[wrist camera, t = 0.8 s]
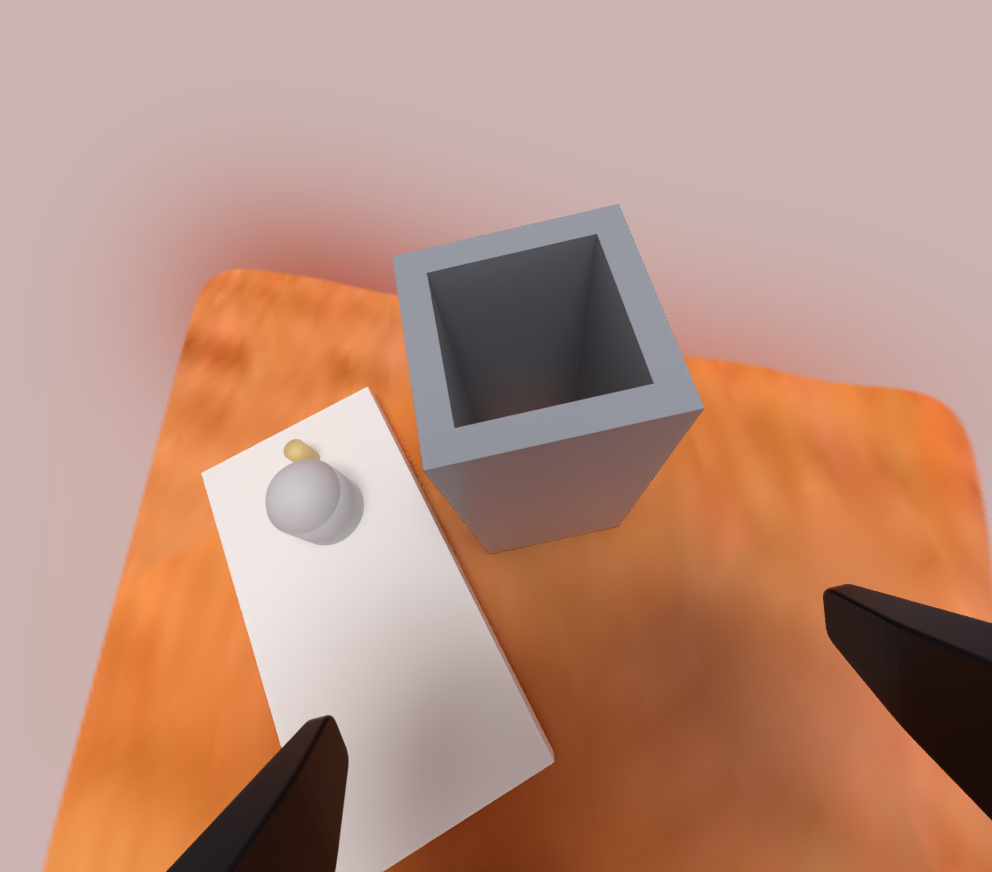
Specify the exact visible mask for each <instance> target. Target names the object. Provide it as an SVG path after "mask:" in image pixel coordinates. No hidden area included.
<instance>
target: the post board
mask: <svg viewBox="0 0 992 872" xmlns="http://www.w3.org/2000/svg"><path fill="white" fill-rule="evenodd" d="M201 474H202V477H203V480H204V484H205V487H206V491H207V494H208V498H209V501H210V504H211V508H212V511H213V515H214V518H215V522H216V525H217V528H218V532H219V535H220V539H221V542H222V546H223V549H224V552H225V556H226V559H227V563H228V566H229V570H230V573H231V576H232V580H233V583H234V587H235V590H236V593H237V597H238V600H239V604H240V607H241V611H242V614H243V617H244V621H245V624H246V628H247V631H248V635H249V638H250V641H251V645H252V648H253V652H254V655H255V659H256V662H257V665H258V669H259V672H260V676H261V679H262V683H263V686H264V689H265V693H266V696H267V700H268V703H269V706H270V710H271V713H272V717H273V720H274V724H275V727H276V730H277V734H278V737H279V741H280V744H281V748H282V747H283V746H284V745H285V744H286V743H287V742H288V741H289V740H290V739H291V738H292V737H293V735H294V734H295V733H296V732H297V731H298V730H299V729H300V728H301V727H302V726H303V725H304V724H305V723H306V722H307V721H308V720H310V719H313V718H317V717H321V716H325V715H331V716H333V717H334V719H335V720H336V723H337V725H338V728H339V730H340V733H341V735H342V738H343V740H344V743H345V745H346V748H347V751H348V757H349V766H348V775H347V783H346V792H345V800H344V808H343V817H342V825H341V833H340V842H339V850H338V857H337V864H336V870H335V872H383V871H385V870H386V869H388V868H389V867H391V866H393V865H394V864H396V863H397V862H399V861H400V860H402V859H404V858H405V857H407V856H408V855H410V854H411V853H413V852H415V851H416V850H418V849H419V848H421V847H422V846H424V845H425V844H427V843H429V842H430V841H432V840H433V839H435V838H436V837H438V836H440V835H441V834H443V833H444V832H446V831H447V830H449V829H451V828H452V827H454V826H455V825H457V824H458V823H460V822H462V821H463V820H465V819H466V818H468V817H469V816H471V815H472V814H474V813H476V812H477V811H479V810H480V809H482V808H483V807H485V806H487V805H488V804H490V803H491V802H493V801H494V800H496V799H498V798H499V797H501V796H502V795H504V794H505V793H507V792H508V791H510V790H512V789H513V788H515V787H516V786H518V785H519V784H521V783H523V782H524V781H526V780H527V779H529V778H530V777H532V776H534V775H535V774H537V773H538V772H540V771H541V770H543V769H544V768H546V767H548V766H549V765H551V764H552V763H554V751H553V749H552V747H551V745H550V743H549V741H548V739H547V737H546V735H545V734H544V732H543V730H542V728H541V726H540V724H539V722H538V720H537V718H536V716H535V714H534V712H533V710H532V708H531V706H530V704H529V702H528V700H527V698H526V696H525V694H524V692H523V690H522V688H521V686H520V684H519V682H518V680H517V678H516V676H515V674H514V672H513V670H512V668H511V666H510V664H509V662H508V660H507V658H506V656H505V654H504V652H503V650H502V648H501V646H500V644H499V642H498V640H497V638H496V636H495V634H494V632H493V630H492V628H491V626H490V624H489V622H488V620H487V618H486V616H485V614H484V612H483V610H482V608H481V606H480V604H479V602H478V600H477V598H476V596H475V594H474V592H473V590H472V588H471V586H470V584H469V582H468V580H467V578H466V576H465V574H464V572H463V570H462V568H461V566H460V564H459V562H458V560H457V558H456V556H455V554H454V552H453V550H452V548H451V546H450V544H449V542H448V540H447V538H446V536H445V534H444V532H443V530H442V528H441V526H440V524H439V522H438V520H437V518H436V516H435V514H434V512H433V510H432V508H431V506H430V504H429V502H428V500H427V498H426V496H425V494H424V492H423V490H422V488H421V486H420V484H419V482H418V480H417V478H416V476H415V474H414V472H413V470H412V468H411V466H410V464H409V462H408V460H407V458H406V456H405V454H404V452H403V450H402V448H401V446H400V444H399V442H398V440H397V438H396V436H395V434H394V432H393V430H392V428H391V426H390V424H389V422H388V420H387V418H386V416H385V414H384V412H383V410H382V408H381V406H380V404H379V402H378V400H377V399H376V397H375V396H374V395H373V393H372V392H371V391H370V389H369V388H368V387H366V388H364V389H362V390H360V391H358V392H356V393H355V394H353V395H351V396H349V397H347V398H345V399H343V400H341V401H339V402H337V403H335V404H333V405H331V406H330V407H328V408H326V409H324V410H322V411H320V412H318V413H316V414H314V415H312V416H310V417H308V418H306V419H305V420H303V421H301V422H299V423H297V424H295V425H293V426H291V427H289V428H287V429H285V430H283V431H281V432H279V433H278V434H276V435H274V436H272V437H270V438H268V439H266V440H264V441H262V442H260V443H258V444H256V445H254V446H253V447H251V448H249V449H247V450H245V451H243V452H241V453H239V454H237V455H235V456H233V457H231V458H229V459H228V460H226V461H224V462H222V463H220V464H218V465H216V466H214V467H212V468H210V469H208V470H206V471H204V472H203V473H201Z"/></svg>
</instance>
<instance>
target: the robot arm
mask: <svg viewBox="0 0 992 872" xmlns="http://www.w3.org/2000/svg"><path fill="white" fill-rule="evenodd" d="M823 602H824V613H825V623H826V630H827V633H828V636H829V638H830V640H831V641H832V643H833V644H834V645H835V647H836V648H837V649H838V650H839V651H840V653H841V654H842V655H843V656H844V658H845V659H846V660H847V661H848V662H849V664H850V665H851V666H852V667H853V669H854V670H855V671H856V672H857V673H858V675H859V676H860V677H861V678H862V680H863V681H864V682H865V683H866V684H867V686H868V687H869V688H870V689H871V691H872V692H873V693H874V694H875V695H876V697H877V698H878V699H879V700H880V702H881V703H882V704H883V705H884V706H885V708H886V709H887V710H888V711H889V712H890V714H891V715H892V716H893V717H894V718H895V719H896V721H897V722H898V723H899V724H900V725H901V726H902V727H903V729H904V730H905V731H906V732H907V733H908V734H909V735H910V736H911V737H912V738H913V739H914V740H915V741H916V742H917V743H918V744H919V746H920V747H921V748H922V749H923V750H924V751H925V752H926V753H927V754H928V755H929V756H930V757H931V758H932V759H933V760H934V761H935V762H936V763H937V764H938V765H939V766H940V767H941V768H942V769H943V770H944V771H945V772H946V773H947V774H948V776H949V777H950V778H951V779H952V780H953V781H954V782H955V783H956V784H957V785H958V786H959V787H960V788H961V789H962V790H963V791H964V792H965V793H966V794H967V795H968V796H969V797H970V798H971V799H972V800H973V801H974V802H975V803H976V804H977V806H978V807H979V808H980V809H981V810H982V811H983V812H984V813H985V814H986V815H987V816H988V817H989V818H990V819H991V820H992V623H989V622H986V621H982V620H978V619H975V618H971V617H968V616H964V615H960V614H957V613H953V612H949V611H946V610H942V609H939V608H935V607H931V606H928V605H924V604H921V603H917V602H913V601H910V600H906V599H902V598H899V597H895V596H892V595H888V594H884V593H881V592H877V591H873V590H870V589H866V588H863V587H859V586H855V585H852V584H844V585H840V586H836V587H832V588H828V589H826V590H825V591H824V594H823ZM348 766H349V757H348V751H347V748H346V745H345V743H344V740H343V738H342V735H341V733H340V730H339V728H338V725H337V723H336V720H335V719H334V717H333V716H331V715H325V716H321V717H317V718H313V719H310V720H308V721H307V722H306V723H305V724H304V725H303V726H302V727H301V728H300V729H299V730H298V731H297V732H296V733H295V734H294V735H293V737H292V738H291V739H290V740H289V741H288V742H287V743H286V744H285V745H284V746H283V747H282V748H281V749H280V750H279V752H278V753H277V754H276V755H275V756H274V757H273V758H272V759H271V760H270V761H269V762H268V763H267V764H266V765H265V766H264V768H263V769H262V770H261V771H260V772H259V773H258V774H257V775H256V776H255V777H254V778H253V779H252V780H251V781H250V783H249V784H248V785H247V786H246V787H245V788H244V789H243V790H242V791H241V792H240V793H239V794H238V795H237V796H236V797H235V799H234V800H233V801H232V802H231V803H230V804H229V805H228V806H227V807H226V808H225V809H224V810H223V811H222V812H221V814H220V815H219V816H218V817H217V818H216V819H215V820H214V821H213V822H212V823H211V824H210V825H209V826H208V827H207V828H206V830H205V831H204V832H203V833H202V834H201V835H200V836H199V837H198V838H197V839H196V840H195V841H194V842H193V843H192V845H191V846H190V847H189V848H188V849H187V850H186V851H185V852H184V853H183V854H182V855H181V856H180V857H179V858H178V859H177V861H176V862H175V863H174V864H173V865H172V866H171V867H170V868H169V869H168V870H167V871H166V872H335V870H336V864H337V857H338V850H339V842H340V833H341V825H342V817H343V808H344V800H345V792H346V783H347V775H348Z"/></svg>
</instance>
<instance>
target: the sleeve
mask: <svg viewBox="0 0 992 872" xmlns="http://www.w3.org/2000/svg"><path fill="white" fill-rule="evenodd" d="M393 262H394V269H395V276H396V283H397V290H398V297H399V304H400V311H401V318H402V325H403V332H404V339H405V346H406V353H407V360H408V367H409V374H410V381H411V388H412V395H413V402H414V409H415V416H416V423H417V430H418V437H419V444H420V450H421V457H422V464H423V471H424V472H425V473H426V475H427V476H428V477H429V478H430V480H431V481H432V482H433V483H434V485H435V486H436V487H437V488H438V490H439V491H440V492H441V493H442V495H443V496H444V497H445V498H446V500H447V501H448V502H449V503H450V505H451V506H452V507H453V509H454V510H455V511H456V512H457V514H458V515H459V516H460V517H461V519H462V520H463V521H464V522H465V524H466V525H467V526H468V527H469V529H470V530H471V531H472V532H473V534H474V535H475V536H476V538H477V539H478V540H479V541H480V543H481V544H482V545H483V546H484V548H485V549H486V550H487V551H488V553H489V554H494V553H498V552H503V551H508V550H512V549H517V548H521V547H526V546H530V545H535V544H540V543H544V542H549V541H553V540H558V539H562V538H567V537H572V536H576V535H581V534H585V533H590V532H594V531H599V530H604V529H608V528H613V527H617V526H619V525H620V523H621V522H622V521H623V519H624V518H625V516H626V515H627V514H628V512H629V511H630V510H631V508H632V507H633V505H634V504H635V503H636V501H637V500H638V499H639V497H640V496H641V494H642V493H643V492H644V490H645V489H646V488H647V486H648V485H649V483H650V482H651V481H652V479H653V478H654V477H655V475H656V474H657V472H658V471H659V470H660V468H661V467H662V466H663V464H664V463H665V462H666V460H667V459H668V457H669V456H670V455H671V453H672V452H673V451H674V449H675V448H676V446H677V445H678V444H679V442H680V441H681V440H682V438H683V437H684V435H685V434H686V433H687V431H688V430H689V429H690V427H691V426H692V424H693V423H694V422H695V420H696V419H697V418H698V416H699V415H700V413H701V412H702V411H703V409H704V406H703V404H702V401H701V399H700V397H699V394H698V392H697V389H696V387H695V385H694V382H693V380H692V378H691V375H690V373H689V370H688V368H687V366H686V363H685V361H684V358H683V356H682V354H681V351H680V349H679V347H678V344H677V342H676V339H675V337H674V335H673V332H672V330H671V328H670V325H669V323H668V320H667V318H666V316H665V313H664V311H663V308H662V306H661V304H660V301H659V299H658V297H657V294H656V292H655V290H654V287H653V285H652V282H651V280H650V278H649V275H648V273H647V270H646V268H645V266H644V263H643V261H642V258H641V256H640V254H639V251H638V249H637V247H636V244H635V242H634V240H633V237H632V235H631V233H630V230H629V228H628V225H627V223H626V221H625V218H624V216H623V213H622V211H621V208H620V206H619V204H617V205H612V206H608V207H604V208H599V209H595V210H591V211H587V212H582V213H578V214H573V215H569V216H565V217H561V218H556V219H552V220H548V221H544V222H539V223H534V224H530V225H526V226H521V227H517V228H513V229H509V230H504V231H500V232H495V233H491V234H487V235H482V236H478V237H474V238H469V239H465V240H461V241H456V242H452V243H448V244H443V245H439V246H434V247H430V248H426V249H421V250H417V251H413V252H408V253H404V254H400V255H396V256H393Z"/></svg>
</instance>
